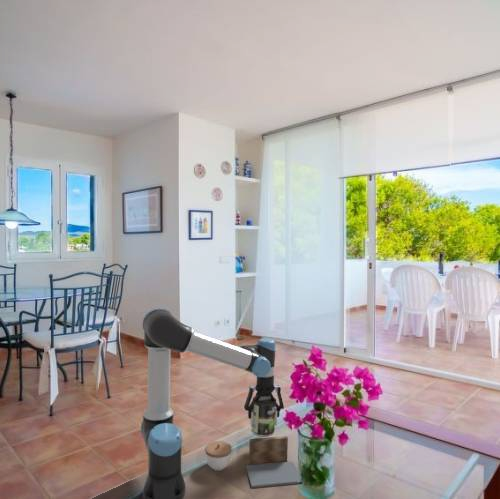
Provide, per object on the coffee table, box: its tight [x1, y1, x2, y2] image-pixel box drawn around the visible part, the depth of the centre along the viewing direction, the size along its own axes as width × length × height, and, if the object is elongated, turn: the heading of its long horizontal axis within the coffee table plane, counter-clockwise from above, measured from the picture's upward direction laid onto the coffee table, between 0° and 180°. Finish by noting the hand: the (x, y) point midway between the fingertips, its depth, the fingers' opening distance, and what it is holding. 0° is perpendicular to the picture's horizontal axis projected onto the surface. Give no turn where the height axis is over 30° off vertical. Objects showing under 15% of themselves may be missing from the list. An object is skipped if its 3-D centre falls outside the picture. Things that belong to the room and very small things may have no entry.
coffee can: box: [251, 396, 277, 438], centre depth 175 cm, size 10×10×14 cm
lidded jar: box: [204, 440, 233, 472], centre depth 163 cm, size 11×11×9 cm
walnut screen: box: [248, 435, 289, 465], centre depth 166 cm, size 16×2×10 cm, turn 101°
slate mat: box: [245, 461, 299, 489], centre depth 158 cm, size 20×13×1 cm, turn 101°
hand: (263, 424), depth 175 cm, fingers closed on coffee can, 10 cm apart
